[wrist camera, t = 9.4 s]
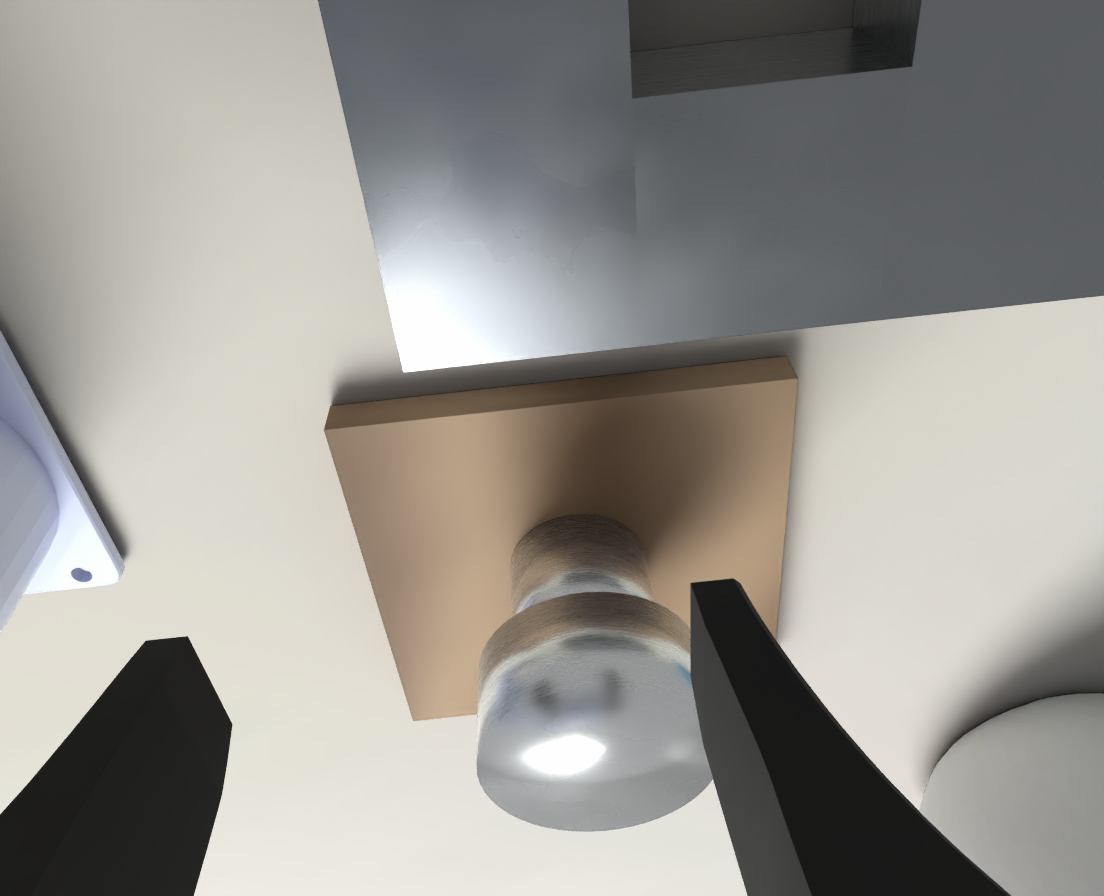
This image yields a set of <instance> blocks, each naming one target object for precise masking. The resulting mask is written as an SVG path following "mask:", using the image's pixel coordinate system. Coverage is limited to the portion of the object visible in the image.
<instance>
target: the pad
mask: <svg viewBox="0 0 1104 896" xmlns="http://www.w3.org/2000/svg"><path fill="white" fill-rule="evenodd" d="M797 385H798V377H797V375H796V373H795V372H794V370H793V368H792V366H791V364H790V362H789V360H788V358H787V356H783V357H773V358H764V359H755V360H746V361H737V362H728V363H719V364H710V365H700V366H691V367H682V368H673V369H664V370H655V371H646V372H637V373H627V374H618V375H609V376H600V377H591V378H582V379H573V380H564V381H554V382H545V383H536V384H527V385H518V386H509V387H500V388H491V389H481V390H472V391H463V392H454V393H445V394H436V395H427V396H418V397H408V398H399V399H390V400H381V401H372V402H363V403H354V404H345V405H335V406H330V409H329V413H328V417H327V421H326V425H325V429H324V432H325V435H326V438H327V441H328V445H329V448H330V451H331V454H332V458H333V461H334V464H335V467H336V471H337V474H338V477H339V481H340V484H341V487H342V490H343V494H344V497H345V500H346V503H347V507H348V510H349V513H350V516H351V520H352V523H353V526H354V529H355V533H356V536H357V539H358V543H359V546H360V549H361V552H362V556H363V559H364V562H365V565H366V569H367V572H368V575H369V578H370V582H371V585H372V588H373V591H374V595H375V598H376V601H377V605H378V608H379V611H380V614H381V618H382V621H383V624H384V627H385V631H386V634H387V637H388V640H389V644H390V647H391V650H392V653H393V657H394V660H395V663H396V667H397V670H398V673H399V676H400V680H401V683H402V686H403V689H404V693H405V696H406V699H407V702H408V706H409V709H410V712H411V715H412V719H413V721H418V720H427V719H437V718H446V717H456V716H465V715H475V714H477V710H478V667H479V660H480V657H481V654H482V651H483V649H484V647H485V645H486V643H487V642H488V640H489V639H490V638H491V636H492V635H493V634H494V632H495V631H496V630H497V629H498V628H499V627H500V626H501V625H503V624H504V623H505V622H506V621H507V620H509V619H510V618H511V575H510V563H511V557H512V554H513V551H514V549H515V547H516V546H517V544H518V543H519V541H520V540H521V539H522V538H523V537H524V536H525V535H526V534H527V533H528V532H529V531H531V530H532V529H533V528H535V527H536V526H538V525H540V524H542V523H544V522H546V521H548V520H551V519H554V518H557V517H561V516H565V515H572V514H594V515H599V516H604V517H607V518H611V519H613V520H616V521H618V522H620V523H622V524H623V525H625V526H626V527H628V528H629V529H630V530H632V531H633V532H634V533H635V535H636V536H637V537H638V538H639V540H640V541H641V543H642V546H643V548H644V552H645V556H646V561H647V566H648V571H649V576H650V581H651V586H652V591H653V596H654V601H655V602H656V603H658V604H660V605H662V606H664V607H666V608H667V609H669V610H671V611H672V612H673V613H675V614H676V615H678V616H679V617H680V618H681V619H682V620H683V621H684V622H685V623H686V624H687V625H688V626H689V628H690V583H693V582H703V581H712V580H721V579H731V578H734V579H735V580H737V581H738V582H739V583H741V585H742V587H743V589H744V590H745V592H746V594H747V596H748V597H749V599H750V601H751V602H752V604H753V606H754V607H755V609H756V611H757V612H758V614H759V615H760V617H761V619H762V620H763V622H764V623H765V625H766V626H767V628H768V629H769V631H770V632H771V634H772V635H773V637H774V638H775V640H776V632H777V620H778V608H779V596H780V585H781V573H782V561H783V549H784V538H785V526H786V514H787V502H788V491H789V479H790V467H791V455H792V444H793V432H794V420H795V408H796V396H797Z"/></svg>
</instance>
